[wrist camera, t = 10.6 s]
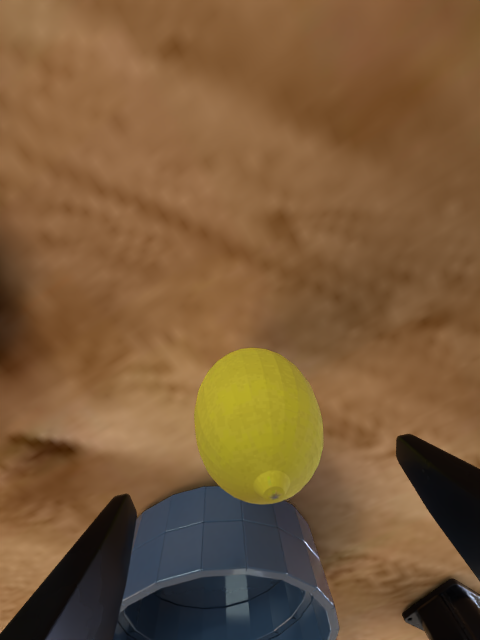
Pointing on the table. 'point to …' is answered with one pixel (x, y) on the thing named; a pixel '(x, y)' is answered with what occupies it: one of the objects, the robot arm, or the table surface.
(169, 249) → the table surface
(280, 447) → the lemon
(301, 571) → the bowl
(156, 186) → the table surface
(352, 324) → the table surface
